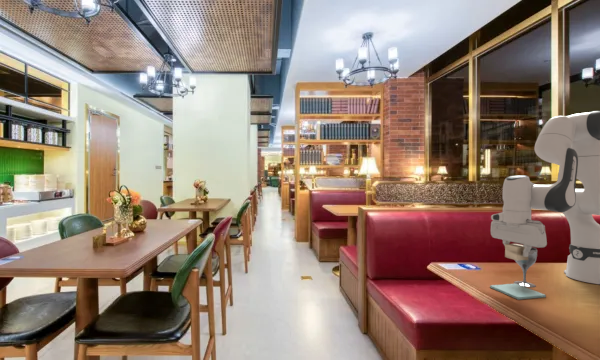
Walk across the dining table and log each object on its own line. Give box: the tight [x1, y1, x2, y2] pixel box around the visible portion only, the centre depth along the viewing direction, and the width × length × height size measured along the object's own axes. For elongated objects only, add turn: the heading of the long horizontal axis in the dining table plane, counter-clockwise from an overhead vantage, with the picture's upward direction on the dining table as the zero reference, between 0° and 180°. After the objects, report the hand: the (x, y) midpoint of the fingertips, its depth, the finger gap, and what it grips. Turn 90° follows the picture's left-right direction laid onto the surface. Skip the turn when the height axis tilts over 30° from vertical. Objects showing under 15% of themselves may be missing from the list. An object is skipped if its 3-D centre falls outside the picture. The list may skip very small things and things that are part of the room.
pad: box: [489, 283, 547, 301], centre depth 110 cm, size 12×12×1 cm
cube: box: [504, 243, 528, 261], centre depth 110 cm, size 5×5×5 cm
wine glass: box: [513, 246, 538, 288], centre depth 118 cm, size 8×8×15 cm
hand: (516, 254), depth 110 cm, fingers closed on cube, 5 cm apart
